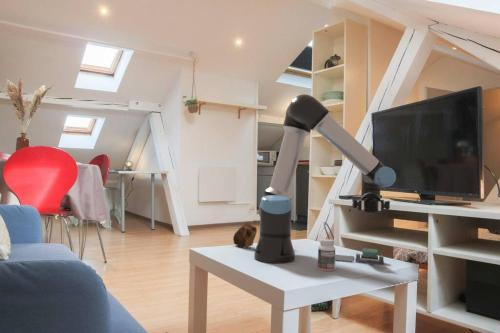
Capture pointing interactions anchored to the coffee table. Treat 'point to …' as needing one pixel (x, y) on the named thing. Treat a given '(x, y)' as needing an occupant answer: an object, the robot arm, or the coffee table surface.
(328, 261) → the pill bottle
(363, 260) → the switch base
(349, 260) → the coaster
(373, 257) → the switch paddle
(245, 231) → the decorative rock
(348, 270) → the coffee table surface
